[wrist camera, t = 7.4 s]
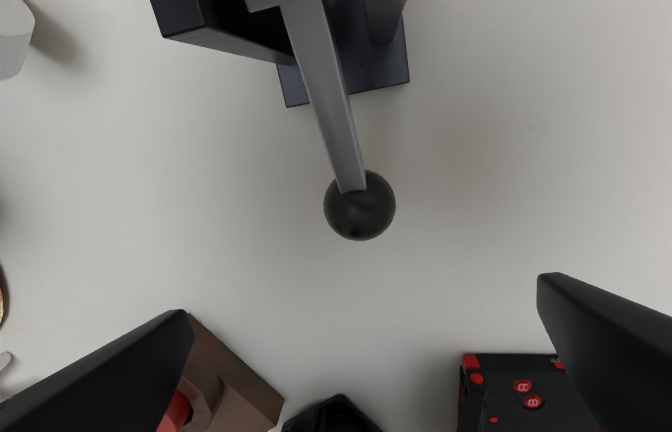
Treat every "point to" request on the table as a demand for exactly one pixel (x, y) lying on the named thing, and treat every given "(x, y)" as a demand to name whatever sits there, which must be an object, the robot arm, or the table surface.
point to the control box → (225, 390)
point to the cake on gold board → (1, 305)
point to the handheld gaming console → (519, 395)
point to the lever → (334, 122)
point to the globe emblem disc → (14, 36)
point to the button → (175, 413)
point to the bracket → (274, 44)
